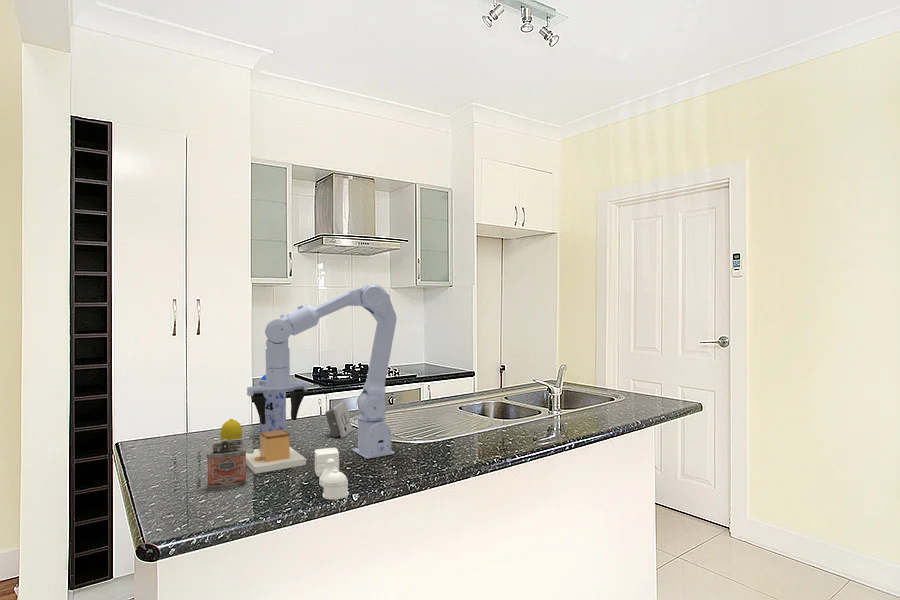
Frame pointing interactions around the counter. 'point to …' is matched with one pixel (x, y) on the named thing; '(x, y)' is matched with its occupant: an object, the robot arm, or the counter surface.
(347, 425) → the electrical switch
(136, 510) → the counter surface
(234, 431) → the lemon
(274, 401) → the aerosol can
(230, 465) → the lighter
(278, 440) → the small cardboard box
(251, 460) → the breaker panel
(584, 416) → the counter surface
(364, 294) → the robot arm
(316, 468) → the container set
